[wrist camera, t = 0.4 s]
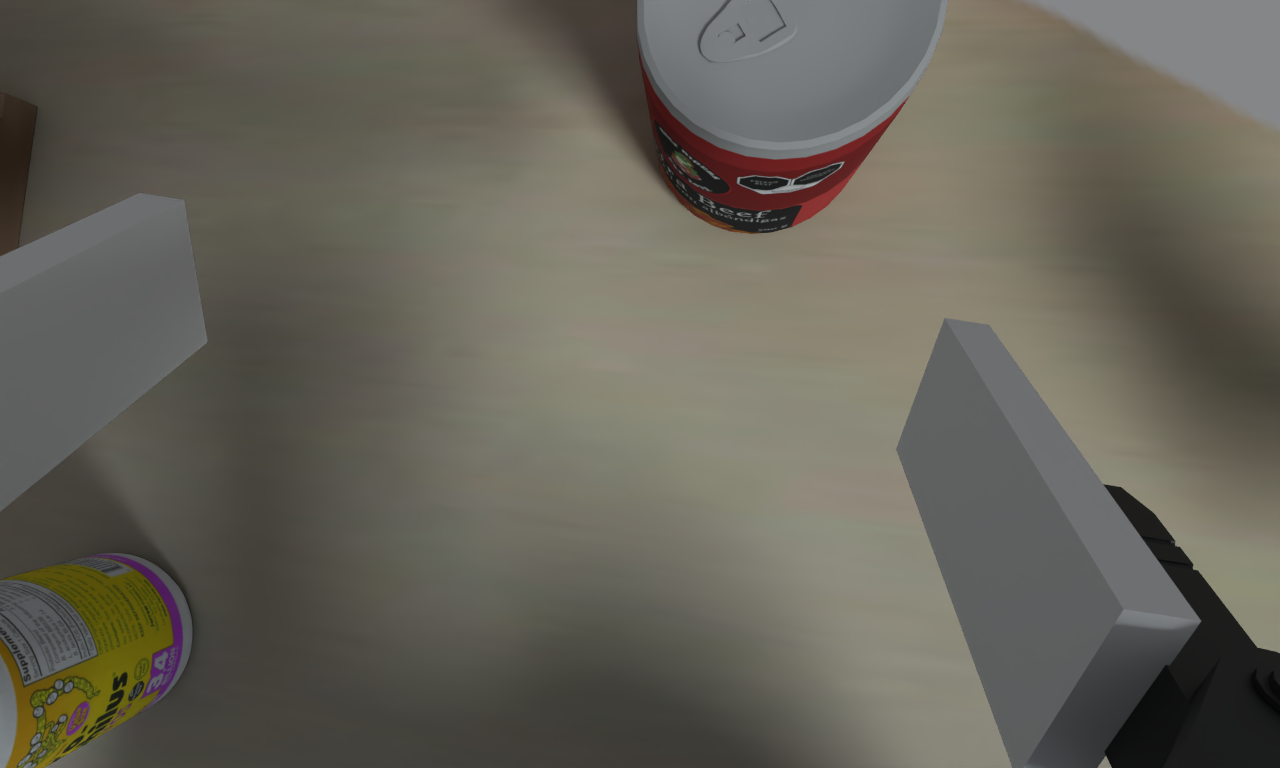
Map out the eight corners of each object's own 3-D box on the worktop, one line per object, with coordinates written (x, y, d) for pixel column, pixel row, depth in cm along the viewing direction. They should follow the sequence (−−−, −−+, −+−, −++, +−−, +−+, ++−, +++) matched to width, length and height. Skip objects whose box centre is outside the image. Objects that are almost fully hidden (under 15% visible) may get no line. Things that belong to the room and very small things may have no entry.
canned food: (616, 149, 31) (572, 14, 20) (757, 0, 31) (791, -220, 20) (756, 281, 30) (789, 218, 19) (901, 132, 30) (1018, -18, 19)
